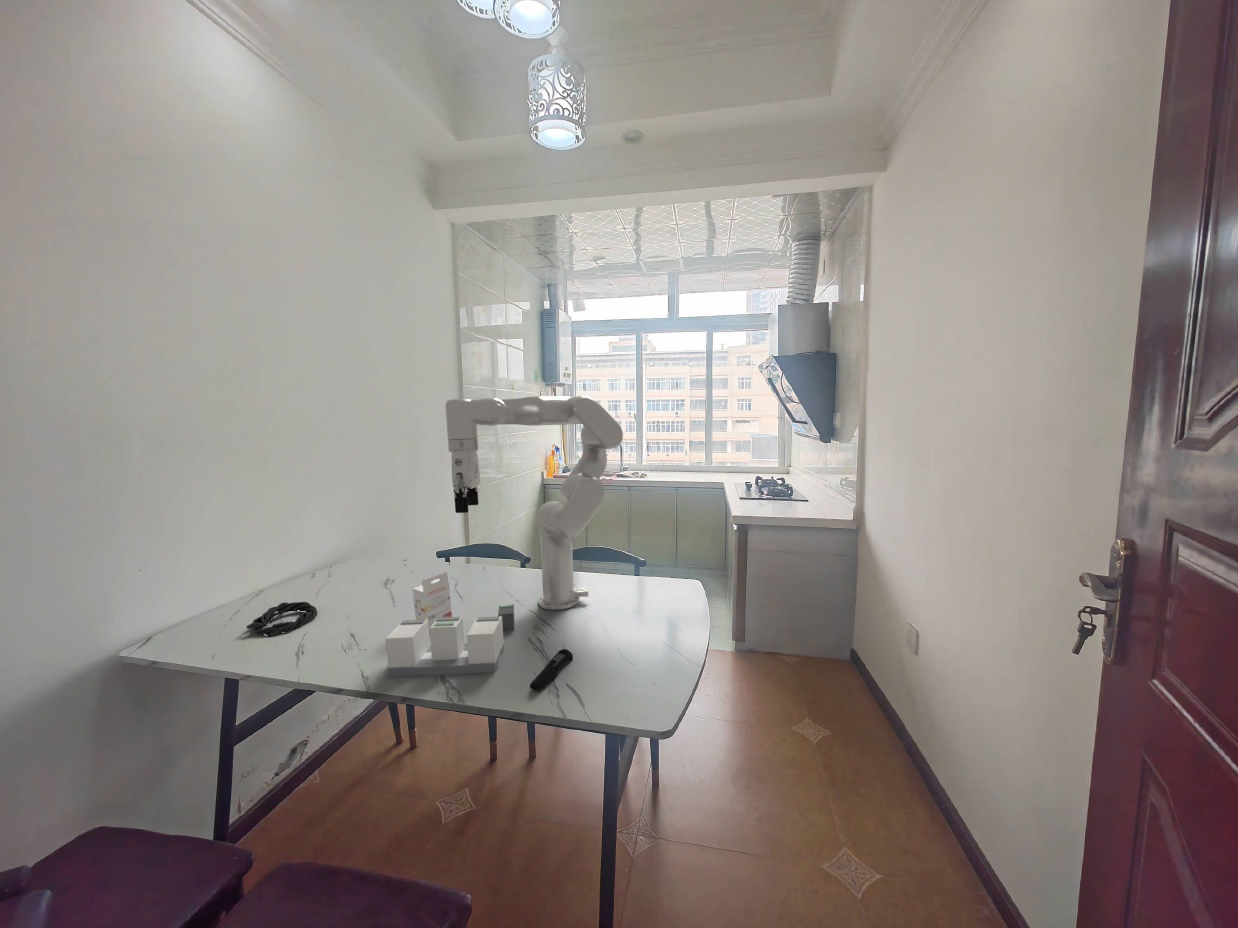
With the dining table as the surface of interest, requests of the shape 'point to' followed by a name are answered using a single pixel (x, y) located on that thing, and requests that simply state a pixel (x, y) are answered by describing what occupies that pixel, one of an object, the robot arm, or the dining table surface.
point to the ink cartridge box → (432, 599)
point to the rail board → (415, 659)
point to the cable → (262, 621)
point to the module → (447, 638)
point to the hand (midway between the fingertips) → (467, 508)
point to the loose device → (507, 616)
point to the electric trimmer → (551, 669)
